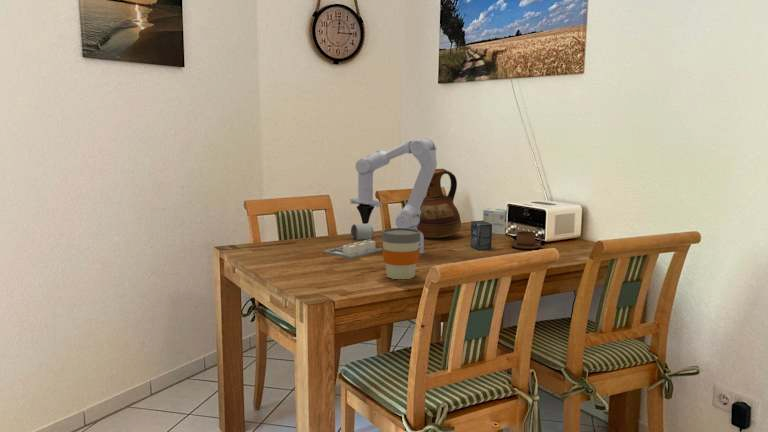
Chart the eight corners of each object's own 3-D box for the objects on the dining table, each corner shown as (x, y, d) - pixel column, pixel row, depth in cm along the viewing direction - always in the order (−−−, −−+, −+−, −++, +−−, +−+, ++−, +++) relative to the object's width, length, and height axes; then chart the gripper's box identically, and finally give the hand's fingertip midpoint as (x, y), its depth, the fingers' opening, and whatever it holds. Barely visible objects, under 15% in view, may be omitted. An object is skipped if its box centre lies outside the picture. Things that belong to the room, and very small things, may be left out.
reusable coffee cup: (397, 269, 203) (397, 226, 201) (427, 276, 196) (428, 230, 193) (373, 277, 194) (373, 231, 191) (404, 283, 186) (404, 236, 184)
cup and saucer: (535, 244, 247) (536, 230, 246) (544, 251, 236) (545, 235, 235) (507, 244, 247) (507, 230, 246) (514, 251, 235) (515, 235, 234)
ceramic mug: (374, 241, 251) (374, 224, 250) (357, 243, 248) (357, 225, 247) (363, 237, 260) (363, 220, 259) (347, 239, 257) (347, 222, 256)
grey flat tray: (382, 253, 229) (382, 248, 229) (350, 261, 215) (350, 256, 215) (355, 248, 238) (355, 243, 237) (323, 255, 224) (323, 251, 224)
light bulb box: (509, 233, 273) (510, 209, 271) (504, 235, 267) (505, 211, 265) (487, 230, 278) (488, 207, 277) (482, 232, 273) (482, 209, 271)
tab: (355, 255, 220) (355, 244, 219) (350, 256, 218) (350, 245, 217) (347, 253, 222) (347, 242, 222) (342, 254, 220) (342, 243, 220)
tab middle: (365, 252, 224) (365, 241, 223) (360, 253, 222) (360, 243, 221) (357, 251, 227) (357, 240, 226) (352, 252, 224) (352, 241, 224)
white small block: (375, 250, 228) (375, 239, 228) (370, 251, 226) (370, 240, 226) (367, 248, 231) (367, 238, 230) (362, 250, 229) (362, 239, 228)
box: (470, 246, 242) (470, 220, 240) (482, 246, 244) (483, 220, 242) (478, 250, 235) (479, 224, 233) (491, 249, 236) (492, 223, 235)
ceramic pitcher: (407, 234, 268) (407, 167, 263) (445, 231, 276) (447, 166, 271) (428, 242, 250) (429, 170, 245) (469, 238, 259) (471, 169, 254)
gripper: (345, 188, 236) (345, 222, 238) (372, 191, 227) (372, 226, 229) (356, 187, 242) (356, 220, 244) (384, 189, 232) (384, 224, 235)
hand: (365, 223), depth 237 cm, fingers closed
